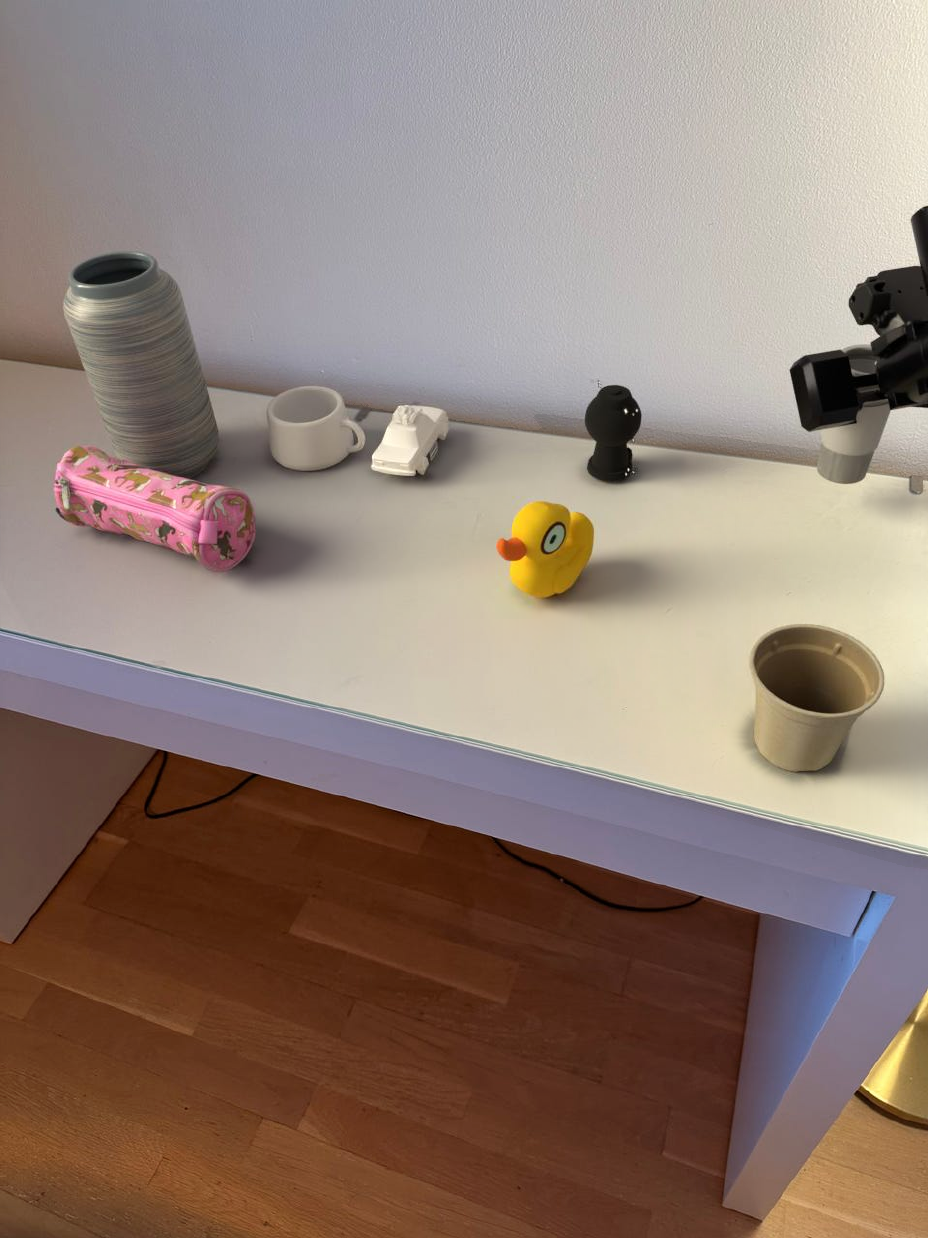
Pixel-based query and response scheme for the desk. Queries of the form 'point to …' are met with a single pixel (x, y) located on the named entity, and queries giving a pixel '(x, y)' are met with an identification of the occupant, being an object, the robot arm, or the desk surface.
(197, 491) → the pencil case
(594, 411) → the gumball machine
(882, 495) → the desk surface
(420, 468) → the toy car
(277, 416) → the mug
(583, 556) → the duckling
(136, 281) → the vase
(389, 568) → the desk surface
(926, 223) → the robot arm
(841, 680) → the flower pot
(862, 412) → the cup
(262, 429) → the desk surface
